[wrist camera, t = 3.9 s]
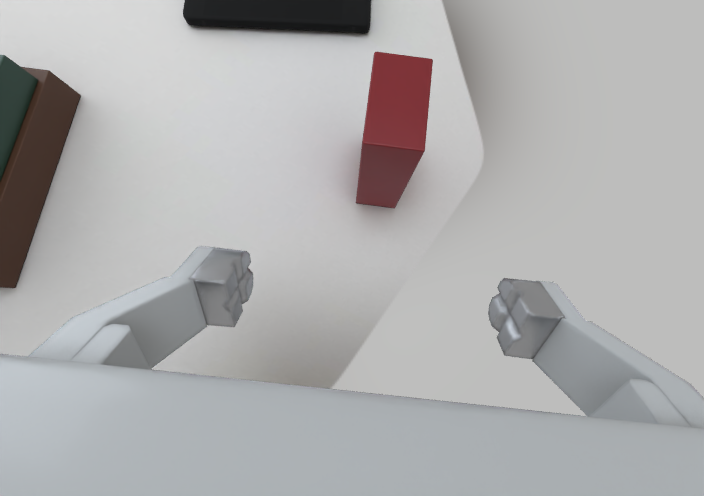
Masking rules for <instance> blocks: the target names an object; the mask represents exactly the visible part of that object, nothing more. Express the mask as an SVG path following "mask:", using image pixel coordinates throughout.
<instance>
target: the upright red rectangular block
mask: <svg viewBox="0 0 704 496" xmlns="http://www.w3.org/2000/svg"><path fill="white" fill-rule="evenodd" d="M432 64H433V60H432V59H428V58H420V57H413V56H405V55H397V54H389V53H382V52H375V53H374V58H373V66H372V73H371V81H370V88H369V96H368V103H367V111H366V118H365V125H364V133H363V140H362V149H361V159H360V168H359V178H358V187H357V197H356V203H359V204H367V205H374V206H382V207H390V208H395V207H396V205H397V203H398V201H399V199H400V197H401V195H402V193H403V191H404V189H405V187H406V185H407V184H408V182H409V180H410V178H411V176H412V174H413V172H414V170H415V168H416V166H417V164H418V162H419V160H420V159H421V157H422V155H423V153H424V151H425V141H426V130H427V119H428V108H429V97H430V86H431V75H432Z"/></svg>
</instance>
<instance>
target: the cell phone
mask: <svg viewBox="0 0 704 496" xmlns="http://www.w3.org/2000/svg"><path fill="white" fill-rule="evenodd" d="M370 14H371V0H185V3H184V9H183V16H184V18H185V20H186V22H187V23H188V24H189V25H191V26H225V27H248V28H272V29H296V30H319V31H343V32H361V33H367V32H368V31H369V28H370Z"/></svg>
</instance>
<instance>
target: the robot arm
mask: <svg viewBox="0 0 704 496" xmlns="http://www.w3.org/2000/svg"><path fill="white" fill-rule="evenodd" d="M250 263H251V259H250V254H249V253H248V252H247V251H240V250H232V249H224V248H215V247H207V246H200V247H197V248H196V249H195V250H194V251H193V252H192V254H191V255H190V256H189V257H188V258H187V259H186V260H185V261H184V262H183V264H182V265H181V266H180V267H179V268H178V269H177V270H176V271H175V272H174V274H173V275H172V276H171V277H164V278H161V279H159V280H157V281H155V282H152V283H150V284H148V285H145V286H143V287H141V288H139V289H136V290H134V291H132V292H129V293H127V294H125V295H123V296H120V297H118V298H116V299H113V300H111V301H109V302H107V303H104V304H102V305H100V306H97V307H95V308H93V309H90V310H88V311H86V312H84V313H81V314H79V315H77V316H74V317H72V318H71V319H70V320H68V321H67V322H66V323H65V324H64V325H63V326H62V327H61V328H59V329H58V330H57V331H56V332H55V333H54V334H53V335H52V336H50V337H49V338H48V339H47V340H46V341H45V342H44V343H43V344H41V345H40V346H39V347H38V348H37V349H36V350H35V351H34V352H32V353H31V354H30V355H29V356H28V357H27V356H18V355H9V354H0V496H704V398H703V397H702V396H701V395H700V393H699V392H697V390H696V389H695V388H694V387H693V386H692V385H691V384H690V383H688V382H687V381H685V380H683V379H682V378H680V377H679V376H677V375H676V374H674V373H672V372H671V371H669V370H668V369H666V368H664V367H663V366H661V365H660V364H658V363H657V362H655V361H653V360H652V359H650V358H649V357H647V356H645V355H644V354H642V353H641V352H639V351H637V350H636V349H634V348H633V347H631V346H629V345H628V344H626V343H625V342H623V341H621V340H620V339H618V338H617V337H615V336H613V335H612V334H610V333H608V332H607V331H605V330H604V329H602V328H601V327H599V326H598V325H596V324H594V323H593V322H591V321H585V319H584V318H583V317H582V315H581V314H580V313H579V312H578V310H577V309H576V308H575V306H574V305H573V304H572V303H571V301H570V300H569V299H568V297H567V296H566V295H565V294H564V292H563V291H562V290H561V288H560V287H559V286H558V285H557V284H555V283H553V282H545V281H528V280H518V279H508V278H504V279H503V280H502V281H500V283H499V285H498V290H499V292H500V293H499V294H498V295H496V296H494V297H493V298H492V300H491V302H490V305H489V312H488V314H489V320H490V322H491V325H492V327H494V328H495V329H496V330H497V331H498V332H499V334H498V336H497V339H498V341H499V344H500V346H501V349H502V351H503V353H504V355H505V356H512V357H519V358H527V359H533V362H534V363H535V364H536V365H537V366H538V367H539V368H540V369H541V370H542V371H543V372H544V373H545V374H546V375H547V376H548V377H549V378H550V379H551V380H552V381H553V382H554V383H555V384H556V385H557V386H558V387H559V388H560V389H561V390H562V391H563V392H564V393H565V394H566V395H567V396H568V397H569V398H570V399H571V400H572V401H573V402H574V403H575V404H576V405H577V406H578V407H579V408H580V409H581V410H582V411H583V412H584V413H585V414H586V415H587V416H580V415H570V414H561V413H551V412H542V411H532V410H523V409H513V408H505V407H494V406H486V405H476V404H467V403H457V402H448V401H437V400H429V399H419V398H410V397H401V396H392V395H383V394H373V393H363V392H355V391H345V390H336V389H327V388H317V387H308V386H299V385H289V384H280V383H271V382H261V381H252V380H243V379H233V378H224V377H215V376H205V375H196V374H187V373H177V372H168V371H159V370H152V368H153V367H154V366H155V365H157V364H158V363H159V362H161V361H162V360H163V359H165V358H166V357H167V356H168V355H170V354H171V353H172V352H174V351H175V350H176V349H178V348H179V347H180V346H182V345H183V344H184V343H186V342H187V341H188V340H190V339H191V338H192V337H194V336H195V335H196V334H198V333H199V332H200V331H202V330H203V329H204V328H206V327H207V325H214V326H227V327H235V325H236V323H237V321H238V319H239V317H240V316H241V314H242V312H243V309H242V304H243V303H245V302H247V301H248V300H249V297H250V295H251V293H252V288H253V273H252V272H251V271H250V269H249V268H248V266H249V265H250Z"/></svg>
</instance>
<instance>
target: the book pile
mask: <svg viewBox="0 0 704 496" xmlns="http://www.w3.org/2000/svg"><path fill="white" fill-rule="evenodd" d="M79 98H80V94H78V93H77V92H76V91H74V90H73V89H72V88H71V87H69V86H68V85H67V84H66V83H64V82H63V81H62V80H60V79H59V78H58V77H57V76H55V75H54V74H53V73H52V72H50V71H48V70H41V69H33V68H25V67H20V66H19V65H17V64H16V63H15V62H13V61H12V60H10V59H9V58H8V57H6V56H5V55H0V287H5V288H15V286H16V284H17V281H18V278H19V275H20V272H21V269H22V266H23V263H24V260H25V257H26V254H27V251H28V248H29V245H30V242H31V239H32V237H33V234H34V231H35V228H36V225H37V222H38V219H39V216H40V213H41V210H42V207H43V204H44V201H45V198H46V195H47V192H48V190H49V187H50V184H51V181H52V178H53V175H54V172H55V169H56V166H57V163H58V160H59V157H60V154H61V151H62V148H63V145H64V142H65V140H66V137H67V134H68V131H69V128H70V125H71V122H72V119H73V116H74V113H75V110H76V107H77V104H78V101H79Z"/></svg>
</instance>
